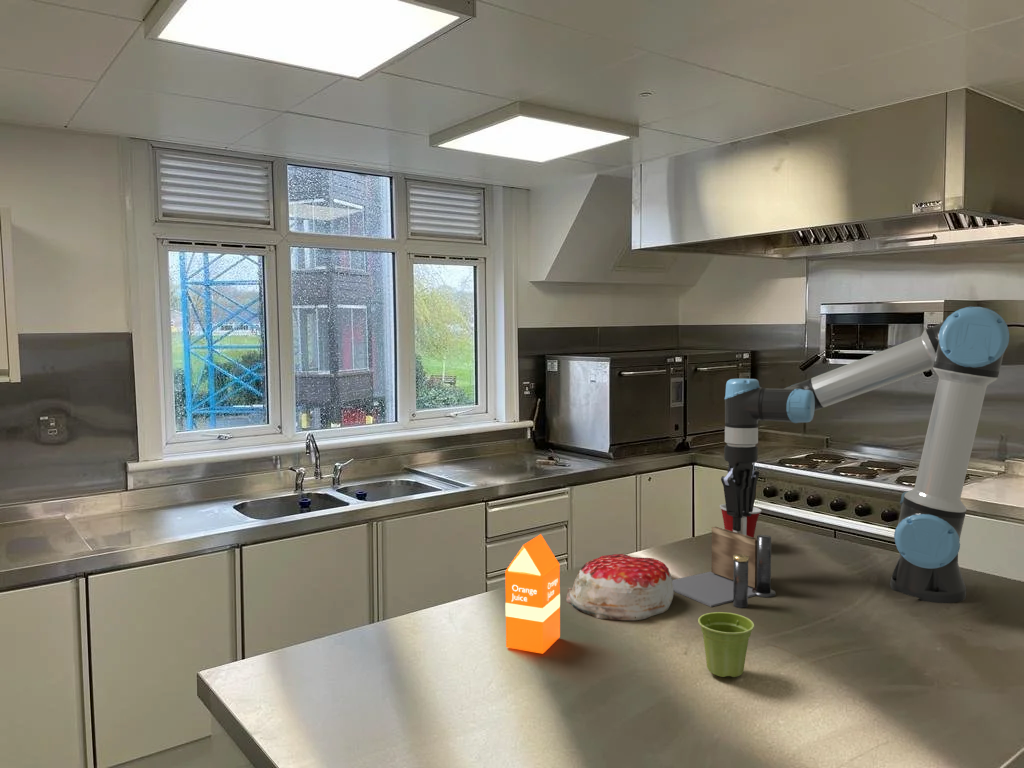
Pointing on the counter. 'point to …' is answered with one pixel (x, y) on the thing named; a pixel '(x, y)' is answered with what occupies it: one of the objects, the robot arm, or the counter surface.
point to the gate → (733, 553)
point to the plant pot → (725, 642)
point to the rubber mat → (707, 588)
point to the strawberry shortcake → (622, 588)
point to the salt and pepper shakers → (762, 573)
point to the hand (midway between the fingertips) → (739, 543)
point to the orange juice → (533, 598)
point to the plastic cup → (750, 520)
